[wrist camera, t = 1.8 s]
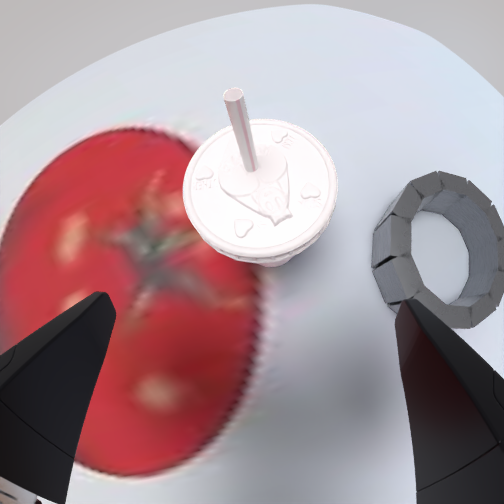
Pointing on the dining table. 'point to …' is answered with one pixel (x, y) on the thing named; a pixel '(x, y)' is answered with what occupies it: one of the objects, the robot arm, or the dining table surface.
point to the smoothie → (260, 188)
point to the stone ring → (473, 232)
